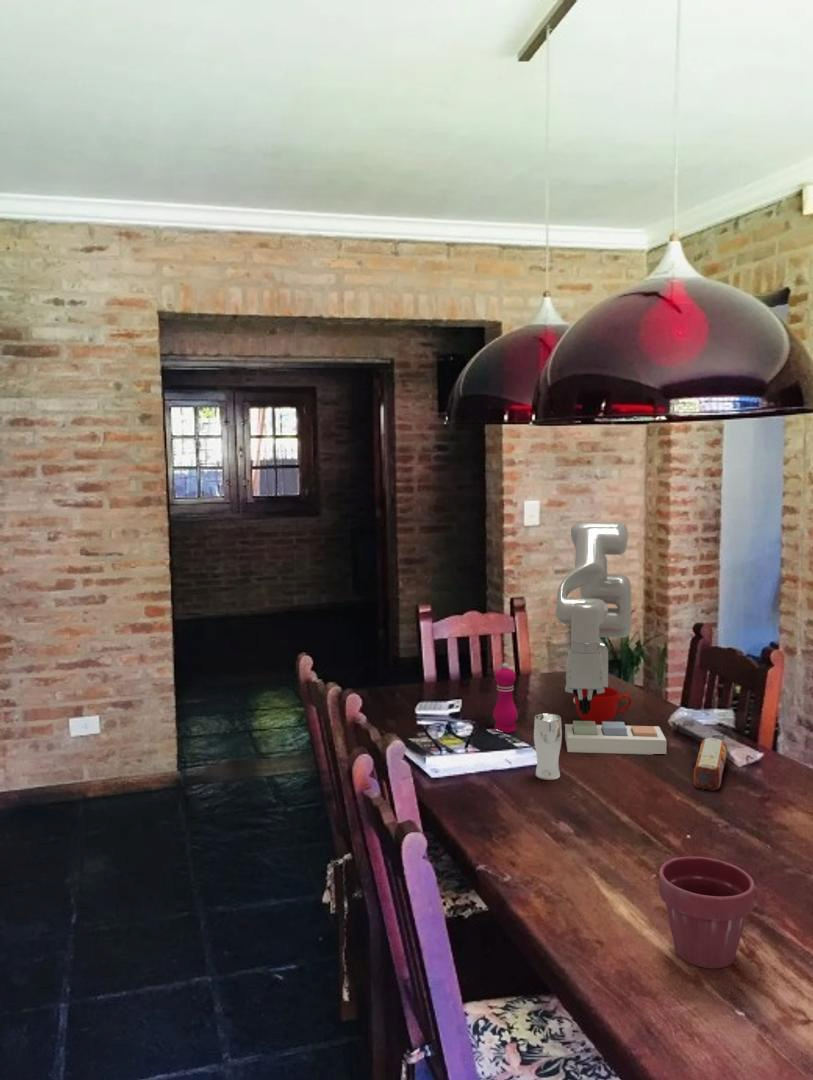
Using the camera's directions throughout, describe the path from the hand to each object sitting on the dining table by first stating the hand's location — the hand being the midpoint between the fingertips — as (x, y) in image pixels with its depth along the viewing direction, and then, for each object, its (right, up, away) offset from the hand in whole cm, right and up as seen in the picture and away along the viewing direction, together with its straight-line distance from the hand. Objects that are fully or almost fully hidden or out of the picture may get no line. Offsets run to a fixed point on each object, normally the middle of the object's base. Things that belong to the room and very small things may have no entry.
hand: (584, 713), depth 232 cm
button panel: (+8, -9, 0) cm, 12 cm away
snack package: (+27, -11, -23) cm, 37 cm away
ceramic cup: (+10, -8, +20) cm, 24 cm away
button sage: (0, -6, +1) cm, 6 cm away
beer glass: (-14, -12, -21) cm, 28 cm away
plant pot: (-2, -18, -98) cm, 100 cm away
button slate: (+8, -6, 0) cm, 10 cm away
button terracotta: (+16, -7, -1) cm, 17 cm away
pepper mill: (-20, -8, +16) cm, 27 cm away
